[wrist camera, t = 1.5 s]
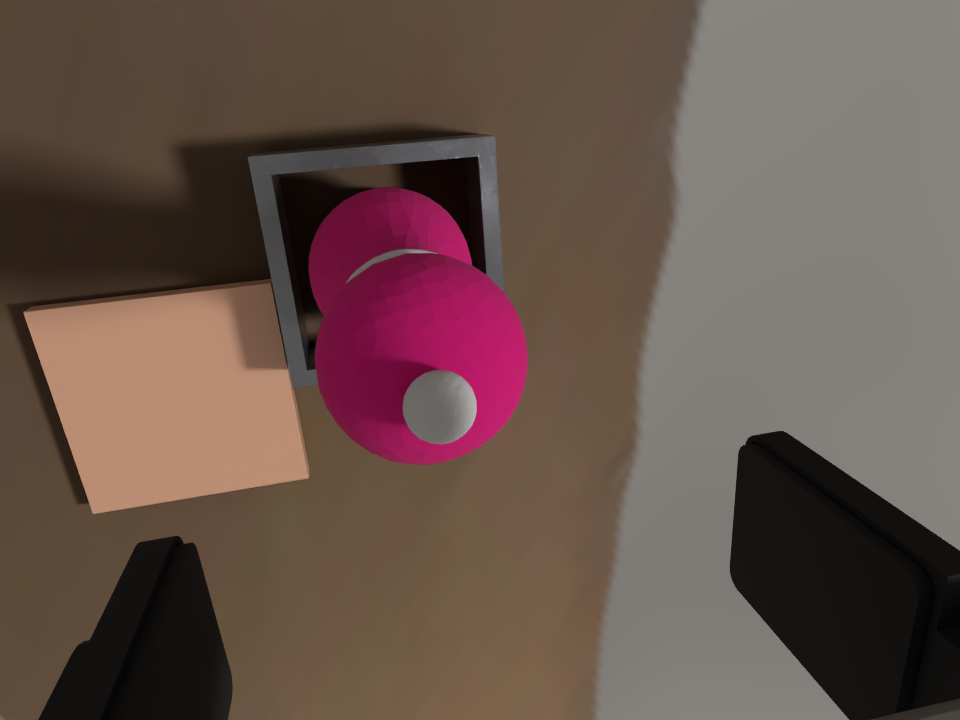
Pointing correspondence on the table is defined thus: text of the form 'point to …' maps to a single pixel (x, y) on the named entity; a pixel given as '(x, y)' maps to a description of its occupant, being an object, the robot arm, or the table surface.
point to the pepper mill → (411, 330)
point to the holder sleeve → (273, 163)
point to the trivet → (172, 392)
